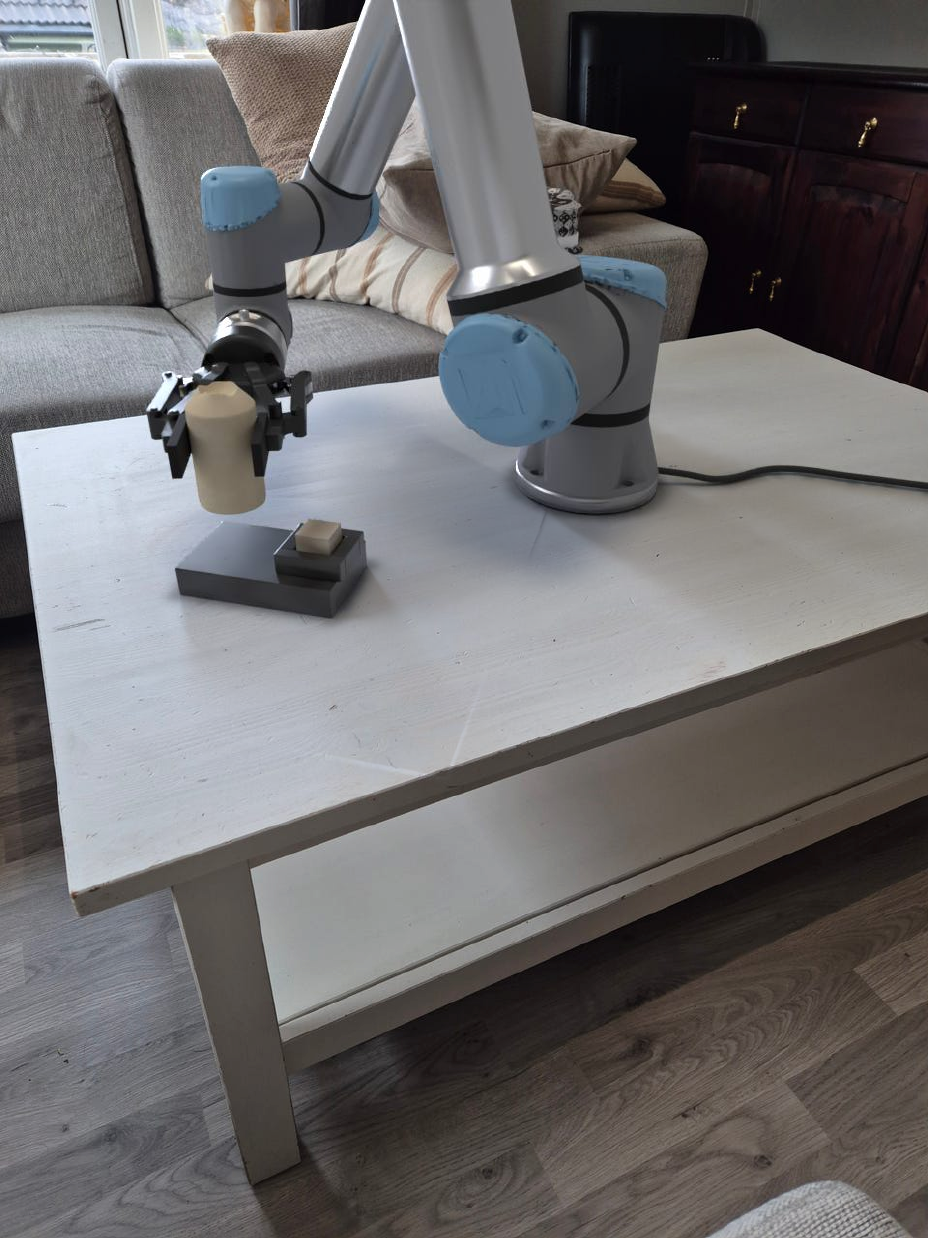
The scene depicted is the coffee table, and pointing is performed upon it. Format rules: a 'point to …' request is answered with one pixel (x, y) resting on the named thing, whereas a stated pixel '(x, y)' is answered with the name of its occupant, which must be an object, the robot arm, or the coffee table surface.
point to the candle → (224, 448)
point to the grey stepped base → (271, 569)
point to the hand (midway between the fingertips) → (216, 461)
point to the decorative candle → (565, 218)
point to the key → (319, 537)
